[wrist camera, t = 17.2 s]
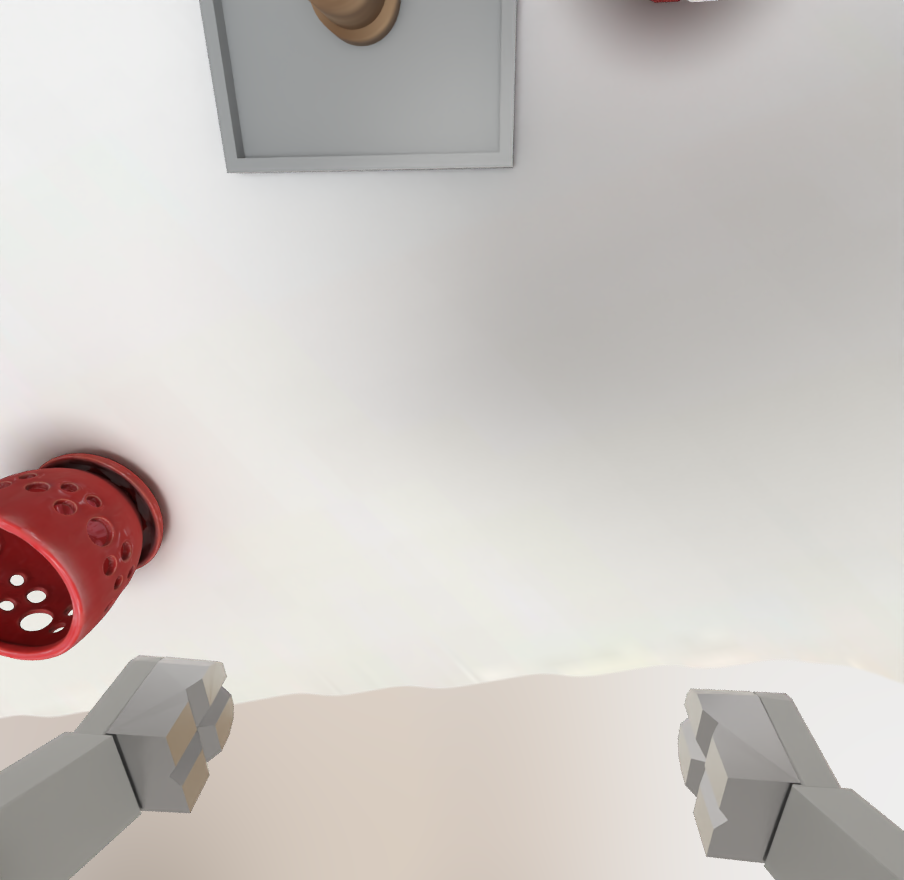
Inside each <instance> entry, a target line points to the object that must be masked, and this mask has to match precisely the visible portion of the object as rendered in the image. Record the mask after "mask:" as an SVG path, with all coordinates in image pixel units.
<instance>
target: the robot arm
mask: <svg viewBox="0 0 904 880" xmlns="http://www.w3.org/2000/svg"><path fill="white" fill-rule="evenodd" d="M226 677H227V675H226V672H225V669H224V665H223V663H221V662H217V661H208V660H196V659H185V658H173V657H157V656H144V655H139V656H137V657H136V658H134V659H132V660H131V661H130V662H129V663H128V664H127V665H126V667H125V668H124V669H123V671H122V672H121V673H120V674H119V676H118V677H117V678H116V679H115V681H114V682H113V683H112V684H111V686H110V687H109V688H108V689H107V691H106V692H105V693H104V694H103V696H102V697H101V698H100V700H99V701H98V702H97V703H96V705H95V706H94V707H93V708H92V710H91V711H90V712H89V713H88V715H87V716H86V717H85V718H84V720H83V721H82V722H81V723H80V725H79V726H78V727H77V729H76V730H75V731H74V732H64V733H63V734H61V735H60V736H58V737H56V738H54V739H53V740H51V741H50V742H48V743H46V744H45V745H43V746H41V747H40V748H38V749H37V750H35V751H33V752H32V753H30V754H28V755H27V756H25V757H23V758H22V759H20V760H18V761H17V762H15V763H14V764H12V765H10V766H9V767H7V768H5V769H4V770H2V771H0V880H69V879H70V878H71V877H72V876H74V875H75V874H76V873H77V872H78V871H79V870H80V869H81V868H82V867H83V866H85V865H86V864H87V863H88V862H89V861H90V860H91V859H92V858H93V857H94V856H95V855H97V854H98V853H99V852H100V851H101V850H102V849H103V848H104V847H105V846H106V845H108V844H109V843H110V842H111V841H112V840H113V839H114V838H115V837H116V836H117V835H119V834H120V833H121V832H122V831H123V830H124V829H125V828H126V827H127V826H128V825H130V824H131V823H132V822H133V821H134V820H135V819H136V818H137V817H138V816H139V815H141V811H158V812H178V813H191V811H192V809H193V807H194V805H195V803H196V801H197V799H198V797H199V795H200V793H201V791H202V789H203V787H204V785H205V783H206V781H207V779H208V777H209V770H208V764H207V762H208V761H209V760H211V759H212V758H213V757H215V756H216V755H217V754H219V753H220V752H221V751H222V749H223V747H224V745H225V743H226V741H227V739H228V737H229V734H230V729H231V726H232V722H233V715H234V712H233V711H234V706H233V700H232V696H231V694H230V693H229V692H228V691H227V690H226V689H225V688H223V687H222V684H223V683H224V681H225V679H226ZM685 708H686V711H687V714H688V718H687V719H686V720H685V721H683V722H682V723H681V724H680V730H679V735H678V754H679V761H680V766H681V771H682V775H683V778H684V782H685V785H686V786H687V787H688V788H689V789H690V790H691V791H692V793H693V794H694V795H695V796H696V797H697V799H696V804H695V808H694V812H693V813H694V817H695V820H696V823H697V827H698V830H699V833H700V837H701V840H702V843H703V847H704V850H705V853H706V856H707V857H715V858H724V859H733V860H742V861H750V862H760V863H765V865H764V867H765V868H766V869H767V870H768V871H769V873H770V874H771V875H772V876H773V878H774V879H775V880H904V831H903V830H902V829H901V828H899V827H898V826H897V825H896V824H894V823H893V822H892V821H891V820H889V819H888V818H887V817H886V816H885V815H883V814H882V813H881V812H880V811H878V810H877V809H876V808H875V807H873V806H872V805H871V804H870V803H869V802H867V801H866V800H865V799H864V798H862V797H861V796H860V795H859V794H857V793H856V792H855V791H854V790H852V789H848V788H841V787H840V785H839V783H838V781H837V779H836V777H835V776H834V774H833V772H832V770H831V768H830V767H829V765H828V763H827V761H826V760H825V758H824V756H823V754H822V752H821V750H820V749H819V747H818V745H817V743H816V741H815V740H814V738H813V736H812V734H811V733H810V731H809V729H808V727H807V725H806V723H805V722H804V720H803V718H802V716H801V714H800V713H799V711H798V709H797V707H796V705H795V704H794V702H793V700H792V699H791V698H790V697H789V696H788V695H787V694H786V693H767V692H750V691H733V690H712V689H711V690H710V689H690V690H689V692H688V693H687V696H686V700H685Z"/></svg>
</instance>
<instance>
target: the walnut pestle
mask: <svg viewBox="0 0 904 880" xmlns="http://www.w3.org/2000/svg"><path fill="white" fill-rule="evenodd" d="M309 1H310V2H311V4H312V7H313V9H314V11H315V13H316V15H317V17H318V18H319V20H320V21H321V22H322V23H323V24H324V25H325V26H326V27H327V28H328V29H329V30H330V31H331V32H332V33H334V34H335V35H336V36H337V37H338V38H340V39H341V40H342V41H344V42H346V43H348V44H351V45H355V46H369V45H372V44H375V43H377V42H379V41H380V40H382V39H383V38H384V37H385V36H386V35H387V34H388V33H389V32H390V31H391V29H392V28H393V26H394V24H395V22H396V20H397V17H398V14H399V10H400V3H401V0H309Z"/></svg>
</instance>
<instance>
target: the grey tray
mask: <svg viewBox="0 0 904 880" xmlns="http://www.w3.org/2000/svg"><path fill="white" fill-rule="evenodd" d="M199 3H200V9H201V15H202V21H203V27H204V33H205V39H206V46H207V52H208V58H209V64H210V70H211V76H212V82H213V89H214V95H215V101H216V107H217V113H218V119H219V125H220V131H221V138H222V144H223V150H224V156H225V162H226V168H227V173H268V172H316V171H363V170H410V169H458V168H505V167H513V131H514V89H515V46H516V4H517V0H401V3H400V10H399V14H398V17H397V20H396V22H395V24H394V26H393V28H392V29H391V31H390V32H389V33H388V34H387V35H386V36H385V37H384V38H383V39H382V40H380V41H379V42H377V43H375V44H372V45H369V46H355V45H351V44H348V43H346V42H344V41H342V40H341V39H340V38H338V37H337V36H336V35H335V34H334V33H332V32H331V31H330V30H329V29H328V28H327V27H326V26H325V25H324V24H323V23H322V22H321V21H320V20H319V18H318V17H317V15H316V13H315V11H314V9H313V7H312V4H311V2H310V1H309V0H199Z"/></svg>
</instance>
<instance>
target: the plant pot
mask: <svg viewBox="0 0 904 880" xmlns="http://www.w3.org/2000/svg"><path fill="white" fill-rule="evenodd" d="M162 537H163V520H162V515H161V511H160V507H159V505H158V503H157V501H156V499H155V497H154V495H153V494H152V492H151V491H150V490H149V488H148V487H147V486H146V484H145V483H144V482H143V481H142V480H141V479H140V478H139V477H138V476H137V475H135V474H134V473H133V472H132V471H130V470H129V469H127V468H126V467H124V466H123V465H121V464H119V463H117V462H115V461H113V460H110V459H108V458H104V457H101V456H97V455H92V454H84V453H74V454H66V455H62V456H59V457H56V458H53V459H51V460H49V461H48V462H46V463H45V464H43V465H42V466H41V467H40V468H39V469H37V470H31V471H26V472H21V473H18V474H14V475H11V476H8V477H5V478H3V479H0V603H1V602H3V601H10V602H12V603H13V604H14V608H13V609H12V610H10V611H5V610H3V609H1V608H0V655H2V656H6V657H10V658H14V659H20V660H44V659H49V658H52V657H56V656H59V655H61V654H63V653H65V652H67V651H68V650H69V649H71V648H72V647H73V646H75V645H76V644H77V643H78V642H79V641H80V640H82V639H83V638H84V637H85V636H86V635H87V634H88V633H89V632H90V631H91V630H92V629H93V628H94V627H95V626H96V625H97V624H98V623H99V622H100V621H101V619H102V618H103V617H104V616H105V615H106V614H107V612H108V611H109V610H110V608H111V607H112V605H113V604H114V603H115V601H116V600H117V598H118V597H119V595H120V594H121V592H122V591H123V590H124V589H125V587H126V586H127V585H128V583H129V581H130V580H131V578H132V576H133V574H134V572H135V570H136V569H138V568H141V567H142V566H144V565H146V564H147V563H148V562H149V561H151V560H152V559H153V557H154V556H155V555H156V553H157V551H158V550H159V547H160V545H161V541H162ZM14 575H21V576H22V577H23V578H24V583H23V584H22V585H20V586H14V585H13V584H11V582H10V579H11V577H12V576H14ZM36 590H40V591H42V592H44V593H45V594H46V598H45V599H44V600H43V601H42V602H39V603H32V602H30V601H29V600H28V599H27V595H28V594H29V593H30V592H32V591H36ZM71 610H73V615H70V616H68V613H69V612H70V611H71ZM34 613H46V614H49V615H51V616H52V618H53V620H52V622H51V623H50V624H49V625H48V626H46V627H45V628H43V629H41V630H38V631H26V630H24V629H22V628H21V626H20V622H21V620H22V619H23V618H24V617H26V616H28V615H30V614H34ZM61 627H64V628H63V629H62V630H60V631H58V632H56V633H53V632H54V631H55V630H57V629H58V628H61Z"/></svg>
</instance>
